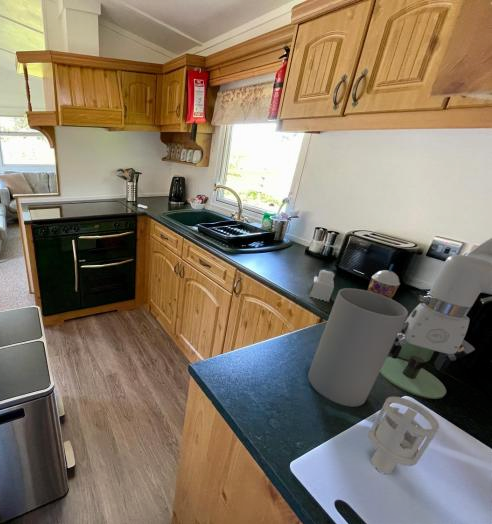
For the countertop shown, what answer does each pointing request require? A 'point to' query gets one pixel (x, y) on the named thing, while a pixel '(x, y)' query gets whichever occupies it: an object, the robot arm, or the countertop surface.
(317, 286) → the medicine bottle
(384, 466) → the strainer
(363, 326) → the cylinder vase
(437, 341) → the robot arm
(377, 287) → the smoothie
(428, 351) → the pot
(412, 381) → the lid
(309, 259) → the countertop surface
